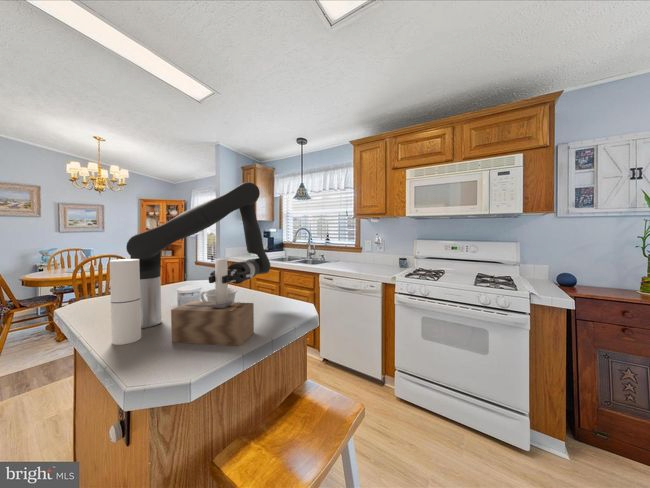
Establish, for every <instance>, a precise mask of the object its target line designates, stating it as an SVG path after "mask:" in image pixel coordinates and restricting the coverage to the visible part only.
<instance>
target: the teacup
mask: <svg viewBox="0 0 650 488" xmlns="http://www.w3.org/2000/svg"><path fill="white" fill-rule="evenodd" d="M237 292H238V290H237V289H236V288H232V287H231V288H229V287H228V301H232V302H235V298H236V293H237ZM204 295H205V296H206V298H205V296H204ZM200 301H206V302H216V292H215V289H209V290H207V291H206V290H203V291H202V292H201V293H200Z"/></svg>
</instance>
